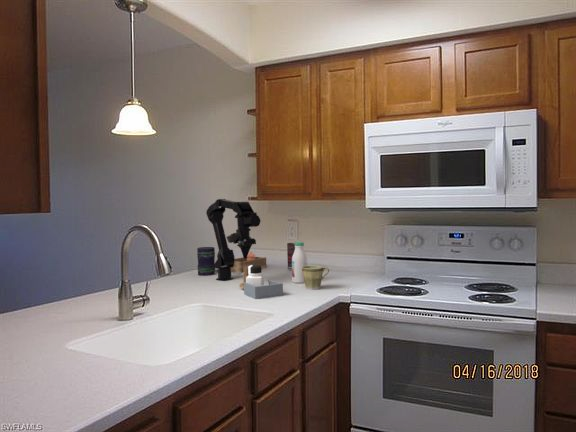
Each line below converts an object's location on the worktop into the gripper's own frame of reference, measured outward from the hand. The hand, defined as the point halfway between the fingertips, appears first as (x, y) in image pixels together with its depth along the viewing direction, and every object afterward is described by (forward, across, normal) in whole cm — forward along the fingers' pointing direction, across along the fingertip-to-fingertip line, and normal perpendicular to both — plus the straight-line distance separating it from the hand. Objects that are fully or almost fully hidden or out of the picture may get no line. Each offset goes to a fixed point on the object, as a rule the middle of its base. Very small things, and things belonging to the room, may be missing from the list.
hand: (245, 258), depth 225 cm
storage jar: (+11, -39, -11) cm, 42 cm away
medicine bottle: (+14, +18, -2) cm, 23 cm away
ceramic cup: (+15, +24, +26) cm, 38 cm away
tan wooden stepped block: (+13, +11, -2) cm, 17 cm away
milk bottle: (+14, +6, +26) cm, 30 cm away
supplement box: (+12, -28, +39) cm, 49 cm away
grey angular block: (+14, +25, -1) cm, 29 cm away
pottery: (+11, -45, +14) cm, 49 cm away
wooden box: (+11, -45, +14) cm, 49 cm away
